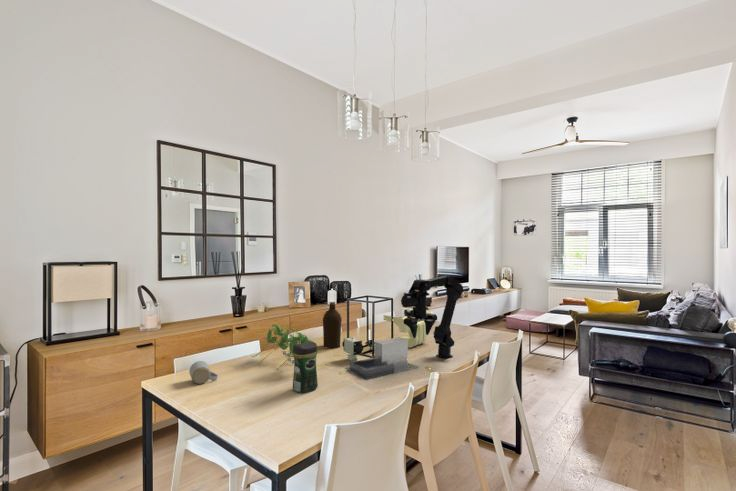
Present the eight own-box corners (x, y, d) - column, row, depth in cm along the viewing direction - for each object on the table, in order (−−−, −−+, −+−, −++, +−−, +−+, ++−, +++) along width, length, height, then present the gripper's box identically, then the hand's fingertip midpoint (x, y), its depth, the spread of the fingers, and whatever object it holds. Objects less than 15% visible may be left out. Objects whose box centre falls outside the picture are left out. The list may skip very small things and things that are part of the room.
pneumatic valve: (355, 365, 176) (356, 340, 176) (341, 359, 185) (342, 335, 185) (364, 363, 180) (365, 338, 180) (350, 357, 189) (350, 334, 189)
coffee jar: (309, 383, 153) (309, 338, 153) (320, 388, 148) (321, 342, 148) (288, 389, 146) (289, 342, 146) (300, 395, 141) (300, 346, 141)
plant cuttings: (294, 393, 159) (328, 354, 171) (272, 367, 152) (309, 328, 164) (259, 372, 186) (290, 339, 197) (239, 348, 179) (273, 316, 190)
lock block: (400, 361, 180) (400, 337, 180) (408, 364, 175) (408, 339, 175) (374, 366, 172) (374, 341, 172) (381, 370, 167) (382, 344, 167)
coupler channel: (395, 359, 186) (396, 351, 186) (419, 369, 171) (419, 361, 171) (344, 370, 170) (344, 361, 170) (365, 382, 155) (365, 373, 155)
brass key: (424, 369, 173) (424, 366, 173) (430, 368, 173) (430, 366, 173) (429, 374, 165) (429, 372, 165) (436, 374, 166) (436, 371, 166)
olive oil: (342, 348, 205) (342, 303, 205) (322, 349, 204) (323, 304, 204) (340, 343, 216) (340, 300, 216) (322, 344, 214) (322, 301, 214)
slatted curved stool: (406, 351, 201) (406, 318, 201) (383, 346, 211) (383, 315, 211) (434, 341, 224) (434, 311, 224) (412, 336, 234) (412, 308, 234)
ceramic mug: (191, 386, 148) (192, 367, 148) (188, 380, 155) (189, 361, 155) (219, 382, 154) (220, 363, 154) (215, 376, 161) (216, 358, 161)
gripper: (421, 301, 195) (421, 330, 195) (395, 305, 183) (396, 336, 183) (437, 303, 186) (438, 334, 186) (411, 308, 174) (412, 341, 174)
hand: (420, 336), depth 183 cm, fingers open, 9 cm apart
